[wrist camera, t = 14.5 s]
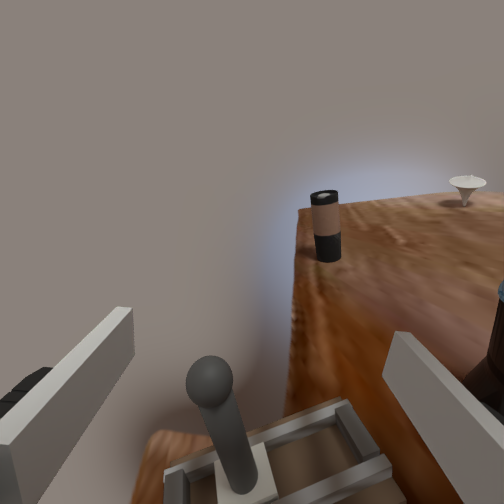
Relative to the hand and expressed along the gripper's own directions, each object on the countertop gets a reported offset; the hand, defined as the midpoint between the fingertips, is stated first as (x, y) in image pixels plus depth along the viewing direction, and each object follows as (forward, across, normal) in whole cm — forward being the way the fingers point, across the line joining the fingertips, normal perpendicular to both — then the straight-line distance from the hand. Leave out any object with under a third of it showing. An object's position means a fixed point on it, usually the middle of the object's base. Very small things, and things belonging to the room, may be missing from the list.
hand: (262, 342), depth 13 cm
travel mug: (+64, +25, -14) cm, 70 cm away
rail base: (+10, +5, -26) cm, 28 cm away
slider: (+9, +1, -25) cm, 27 cm away
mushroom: (+86, +79, +5) cm, 117 cm away
